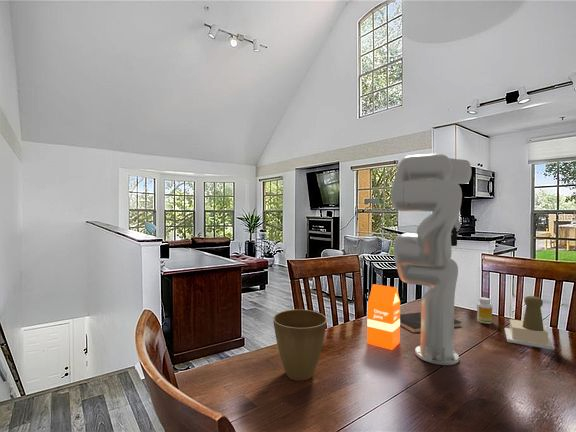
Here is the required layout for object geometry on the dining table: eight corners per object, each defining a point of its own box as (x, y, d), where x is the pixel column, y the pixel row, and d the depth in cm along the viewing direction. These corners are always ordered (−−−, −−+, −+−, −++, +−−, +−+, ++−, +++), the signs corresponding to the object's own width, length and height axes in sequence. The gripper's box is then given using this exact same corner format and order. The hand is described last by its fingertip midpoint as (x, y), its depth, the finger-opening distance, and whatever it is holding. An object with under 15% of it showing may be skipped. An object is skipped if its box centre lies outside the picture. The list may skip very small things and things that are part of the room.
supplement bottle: (494, 324, 134) (495, 300, 133) (481, 323, 134) (482, 300, 134) (487, 319, 139) (487, 296, 139) (474, 319, 139) (474, 296, 139)
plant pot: (266, 366, 96) (266, 312, 95) (312, 359, 101) (312, 307, 101) (283, 393, 82) (283, 330, 82) (336, 383, 87) (336, 323, 87)
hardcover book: (461, 327, 130) (461, 322, 130) (413, 334, 123) (413, 328, 123) (432, 315, 146) (432, 310, 146) (388, 320, 139) (388, 315, 139)
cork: (538, 325, 118) (538, 295, 117) (547, 331, 112) (548, 299, 111) (519, 324, 119) (519, 294, 119) (527, 330, 113) (528, 298, 113)
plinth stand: (554, 349, 109) (554, 335, 109) (507, 341, 115) (507, 327, 115) (546, 336, 120) (547, 323, 120) (504, 330, 127) (504, 317, 126)
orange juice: (392, 350, 108) (392, 289, 107) (366, 343, 113) (367, 285, 113) (400, 342, 114) (400, 285, 114) (375, 336, 119) (376, 282, 119)
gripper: (469, 198, 115) (469, 247, 115) (440, 199, 132) (440, 242, 133) (450, 198, 114) (449, 247, 114) (423, 199, 131) (422, 242, 132)
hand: (444, 244), depth 124 cm, fingers open, 9 cm apart
